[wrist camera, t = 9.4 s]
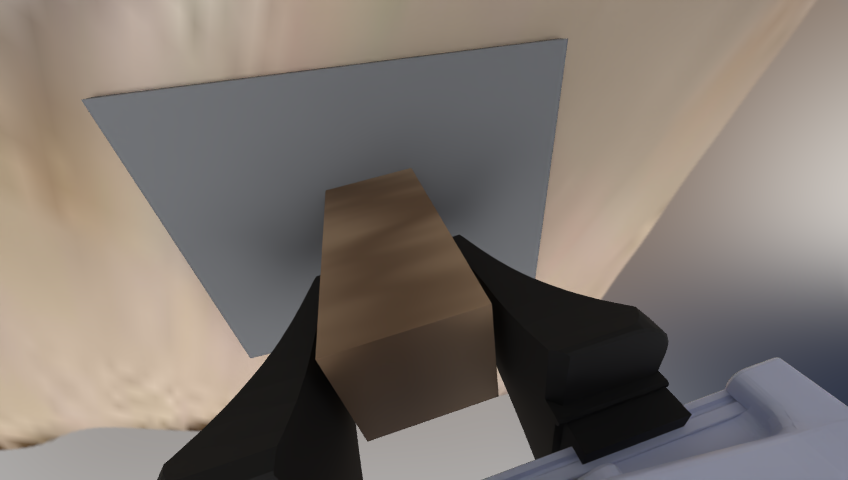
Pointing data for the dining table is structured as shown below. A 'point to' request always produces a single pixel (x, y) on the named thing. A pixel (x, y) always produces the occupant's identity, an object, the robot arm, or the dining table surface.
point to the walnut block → (399, 309)
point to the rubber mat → (338, 163)
